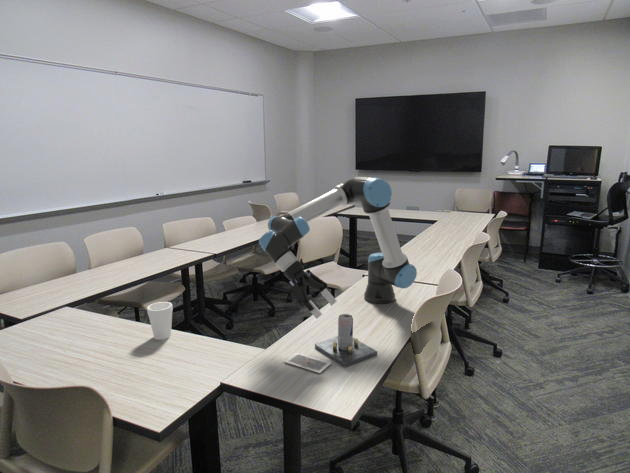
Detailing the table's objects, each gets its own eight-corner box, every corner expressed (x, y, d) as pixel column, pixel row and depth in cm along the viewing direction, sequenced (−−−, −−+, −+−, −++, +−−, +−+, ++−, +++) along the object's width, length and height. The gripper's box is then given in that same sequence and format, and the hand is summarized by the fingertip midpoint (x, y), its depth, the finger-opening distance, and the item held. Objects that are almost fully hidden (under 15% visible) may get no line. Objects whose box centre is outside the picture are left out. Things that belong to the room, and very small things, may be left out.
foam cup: (179, 333, 170) (177, 303, 167) (163, 343, 162) (159, 312, 159) (162, 329, 174) (159, 300, 171) (145, 339, 166) (141, 308, 163)
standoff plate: (346, 337, 165) (346, 327, 164) (377, 355, 151) (377, 344, 150) (314, 347, 157) (314, 337, 156) (344, 367, 143) (344, 356, 142)
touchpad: (296, 354, 153) (296, 349, 152) (331, 365, 145) (331, 359, 144) (283, 364, 146) (283, 358, 146) (319, 376, 138) (319, 370, 138)
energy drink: (354, 345, 155) (354, 314, 153) (350, 351, 150) (350, 320, 148) (340, 342, 157) (340, 313, 155) (336, 349, 152) (336, 318, 150)
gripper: (299, 263, 169) (333, 303, 166) (267, 281, 147) (305, 328, 144) (311, 252, 166) (346, 293, 163) (279, 269, 144) (319, 316, 141)
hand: (327, 309), depth 153 cm, fingers open, 13 cm apart
